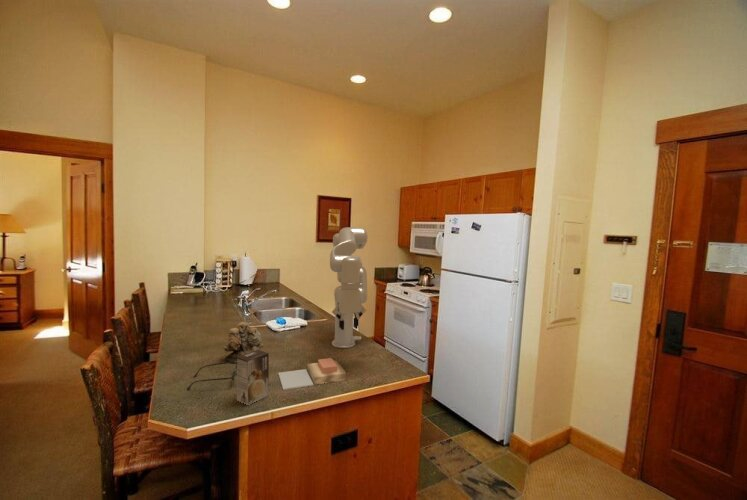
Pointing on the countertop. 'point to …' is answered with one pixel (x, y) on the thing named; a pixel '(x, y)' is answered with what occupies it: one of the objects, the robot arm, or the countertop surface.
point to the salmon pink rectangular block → (327, 365)
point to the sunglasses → (218, 378)
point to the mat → (295, 379)
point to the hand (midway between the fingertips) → (348, 328)
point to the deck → (325, 374)
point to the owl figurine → (242, 341)
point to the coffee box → (252, 377)
